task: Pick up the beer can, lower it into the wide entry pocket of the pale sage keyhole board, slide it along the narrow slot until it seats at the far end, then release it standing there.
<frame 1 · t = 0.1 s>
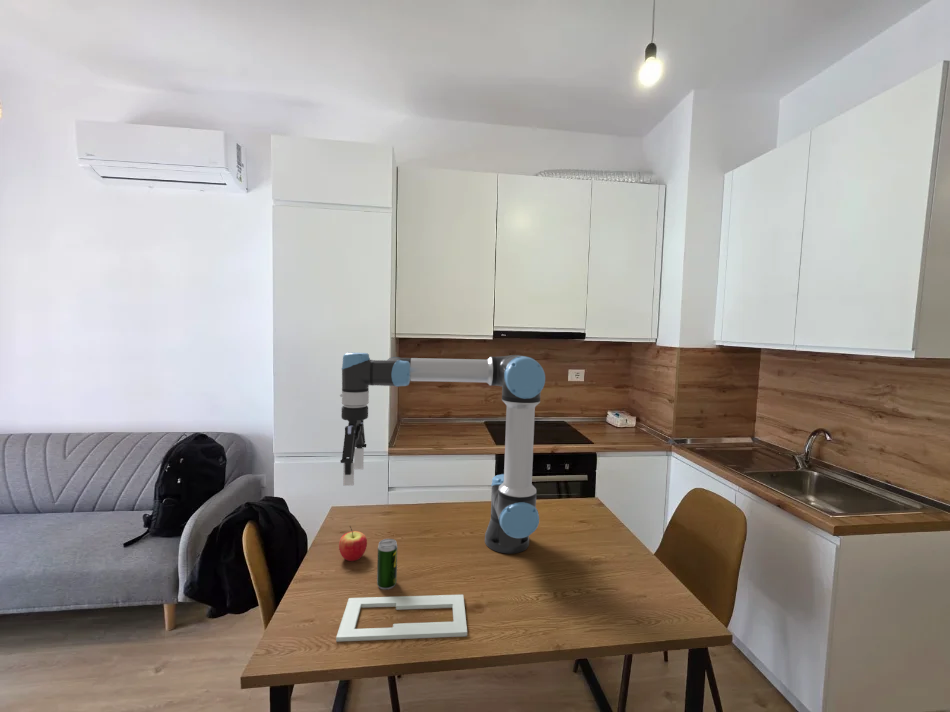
hand: (353, 476, 122), 28 cm above the table, fingers open, 13 cm apart
keyhole board: (404, 618, 102), on the table
beer can: (386, 585, 116), on the table
apple: (353, 559, 129), on the table
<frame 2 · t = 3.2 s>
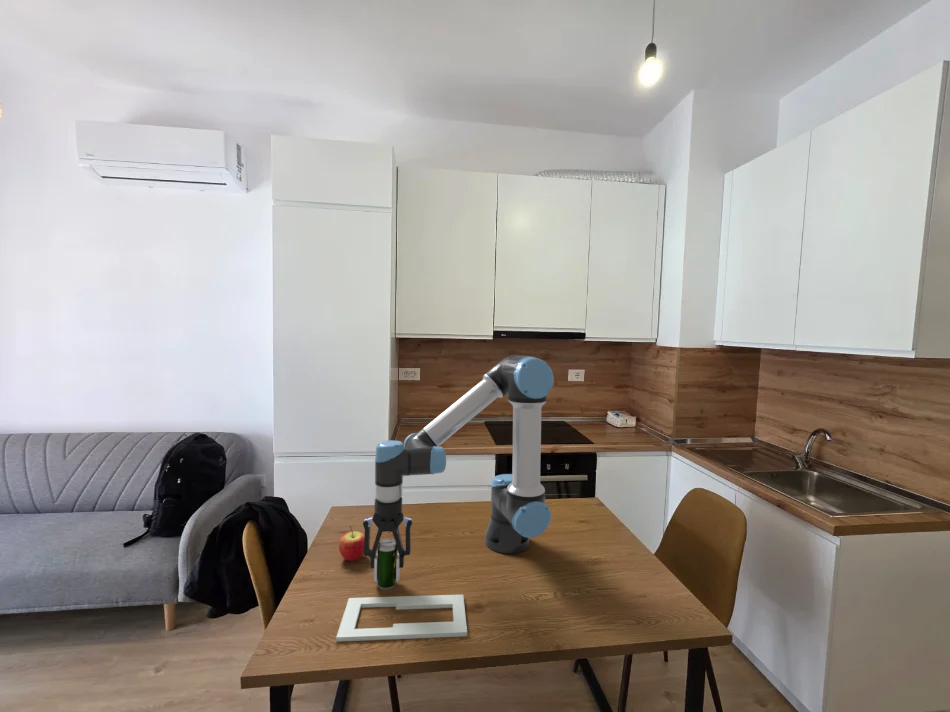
hand: (386, 578, 116), 2 cm above the table, fingers closed on beer can, 5 cm apart
beer can: (386, 585, 116), on the table, touching gripper
everything else where it was.
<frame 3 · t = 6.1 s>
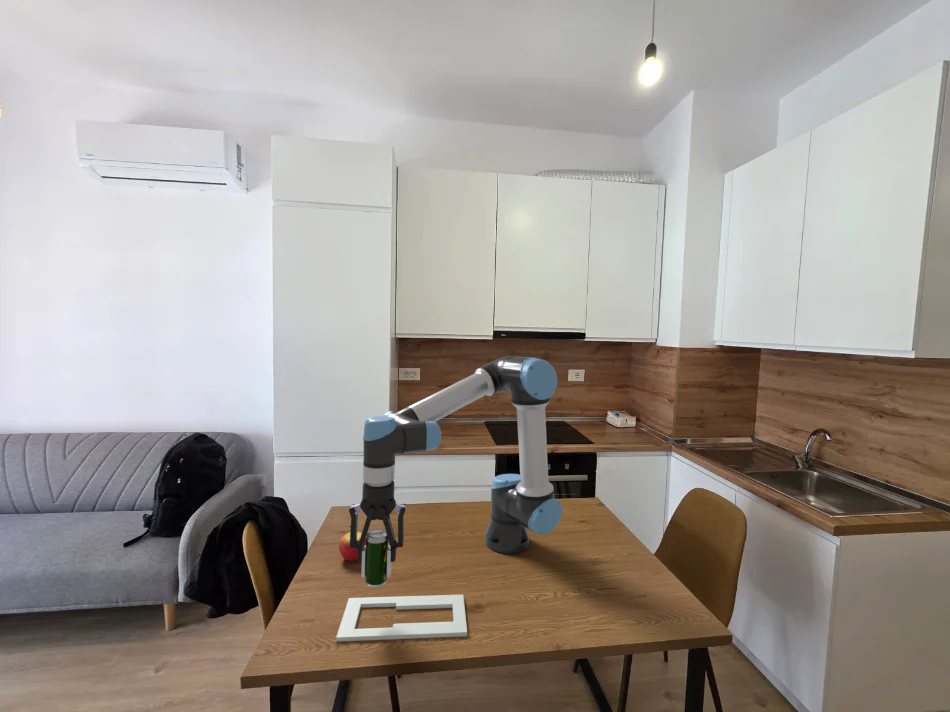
hand: (376, 573, 101), 12 cm above the table, fingers closed on beer can, 5 cm apart
beer can: (376, 582, 101), point 9 cm above the table, touching gripper
everything else where it was.
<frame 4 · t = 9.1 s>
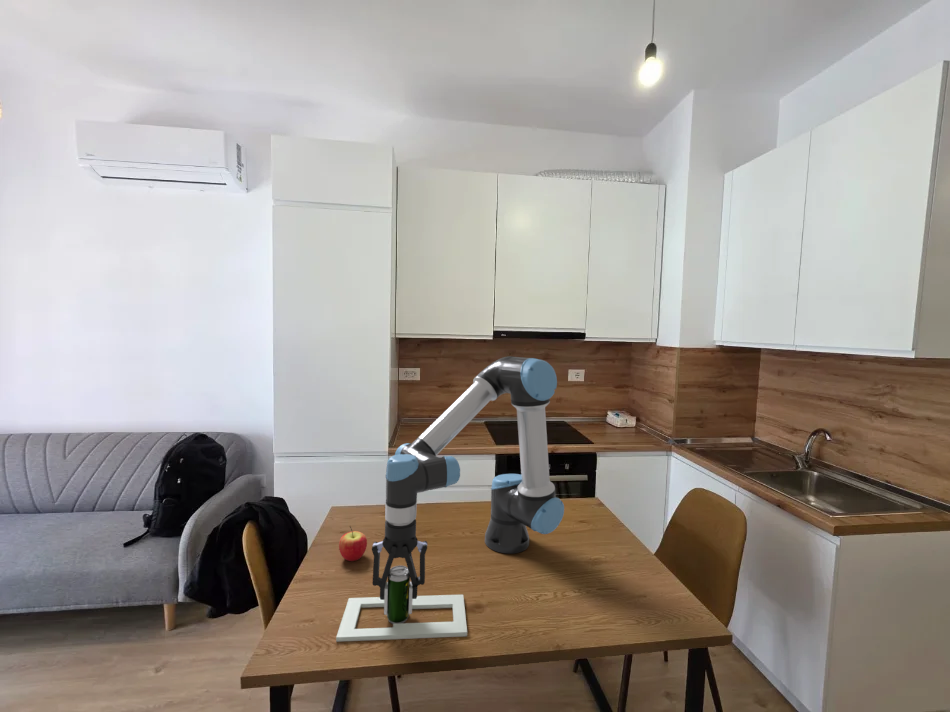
hand: (398, 610, 102), 2 cm above the table, fingers closed on beer can, 5 cm apart
beer can: (397, 618, 102), resting in keyhole board, touching gripper
everything else where it was.
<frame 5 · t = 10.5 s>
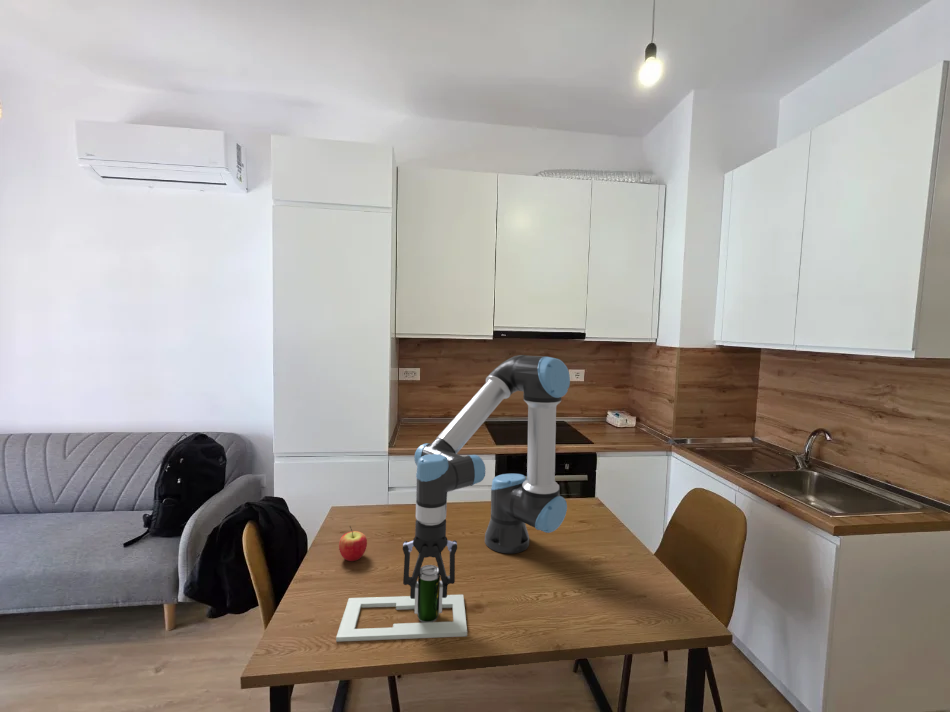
hand: (428, 609, 103), 2 cm above the table, fingers closed on beer can, 5 cm apart
beer can: (427, 617, 103), resting in keyhole board, touching gripper
everything else where it was.
when the fingers open (2 cm above the table, at t = 11.9 s): beer can stays where it is, resting in keyhole board.
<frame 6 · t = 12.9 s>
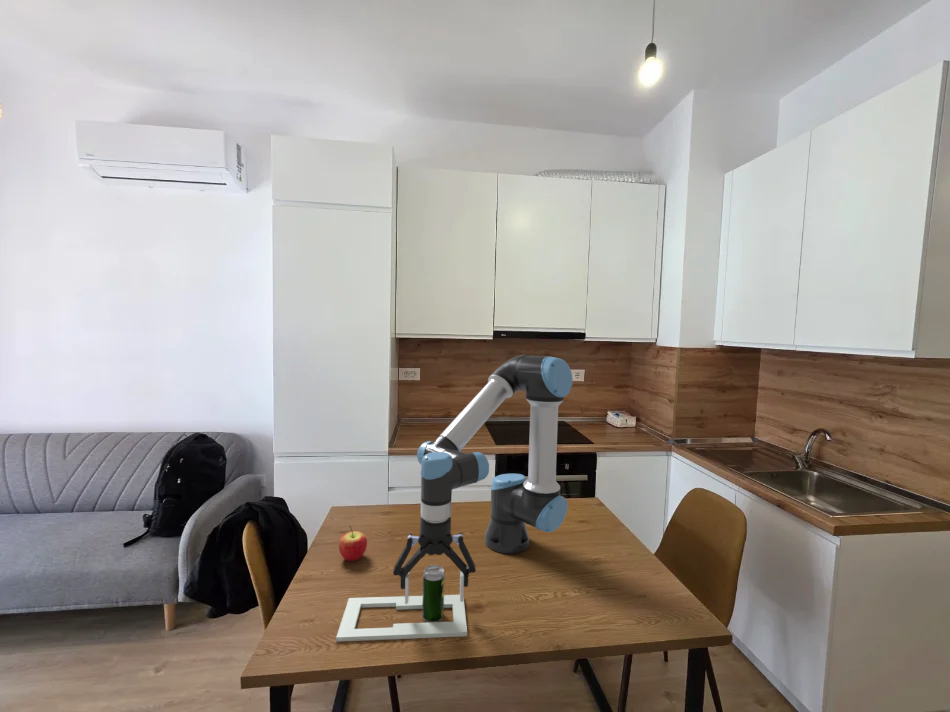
hand: (434, 599, 103), 4 cm above the table, fingers open, 13 cm apart
beer can: (432, 617, 103), resting in keyhole board
everything else where it was.
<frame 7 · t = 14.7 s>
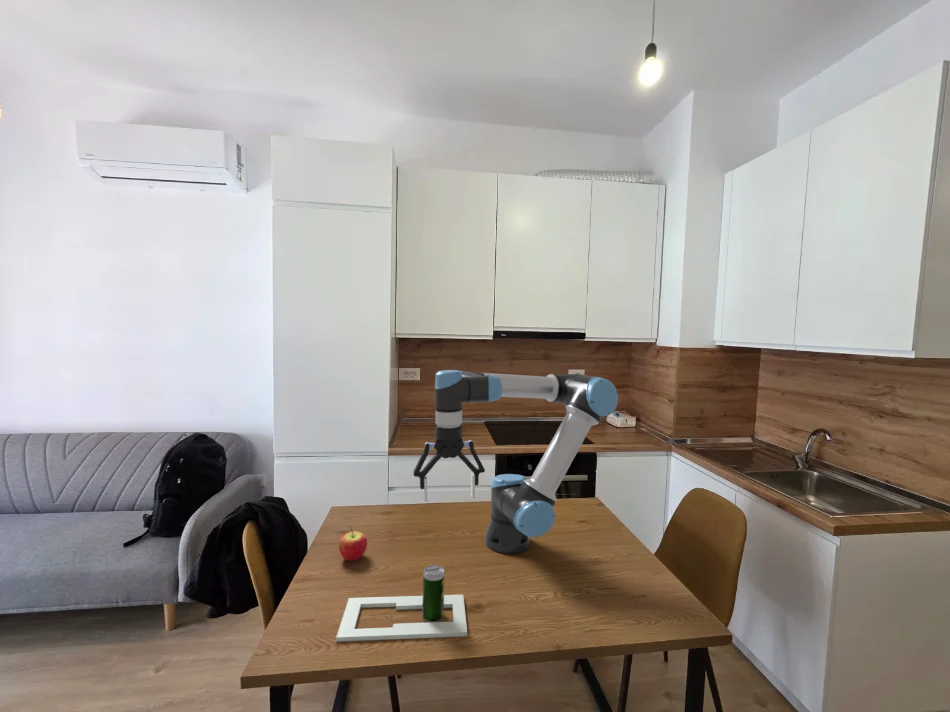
hand: (449, 497, 118), 24 cm above the table, fingers open, 13 cm apart
nothing on the table moved.
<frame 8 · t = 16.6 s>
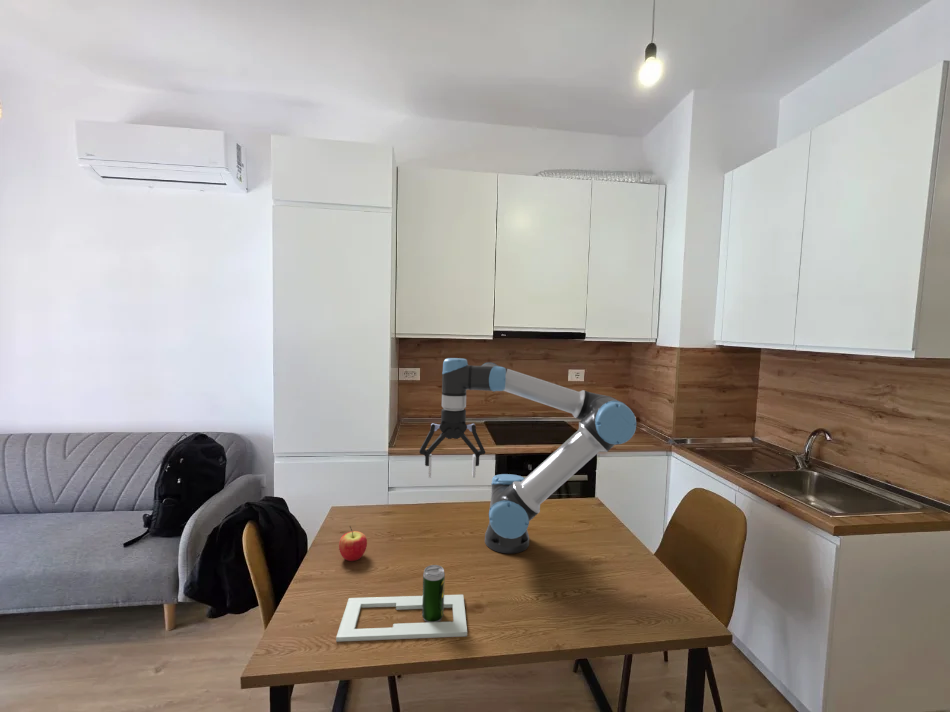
hand: (451, 476, 128), 27 cm above the table, fingers open, 13 cm apart
nothing on the table moved.
at the end: beer can 0.6 cm from the target spot on the keyhole board, point 0.0 cm above the keyhole board's base; beer can tilted 0°; the gripper is holding nothing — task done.
